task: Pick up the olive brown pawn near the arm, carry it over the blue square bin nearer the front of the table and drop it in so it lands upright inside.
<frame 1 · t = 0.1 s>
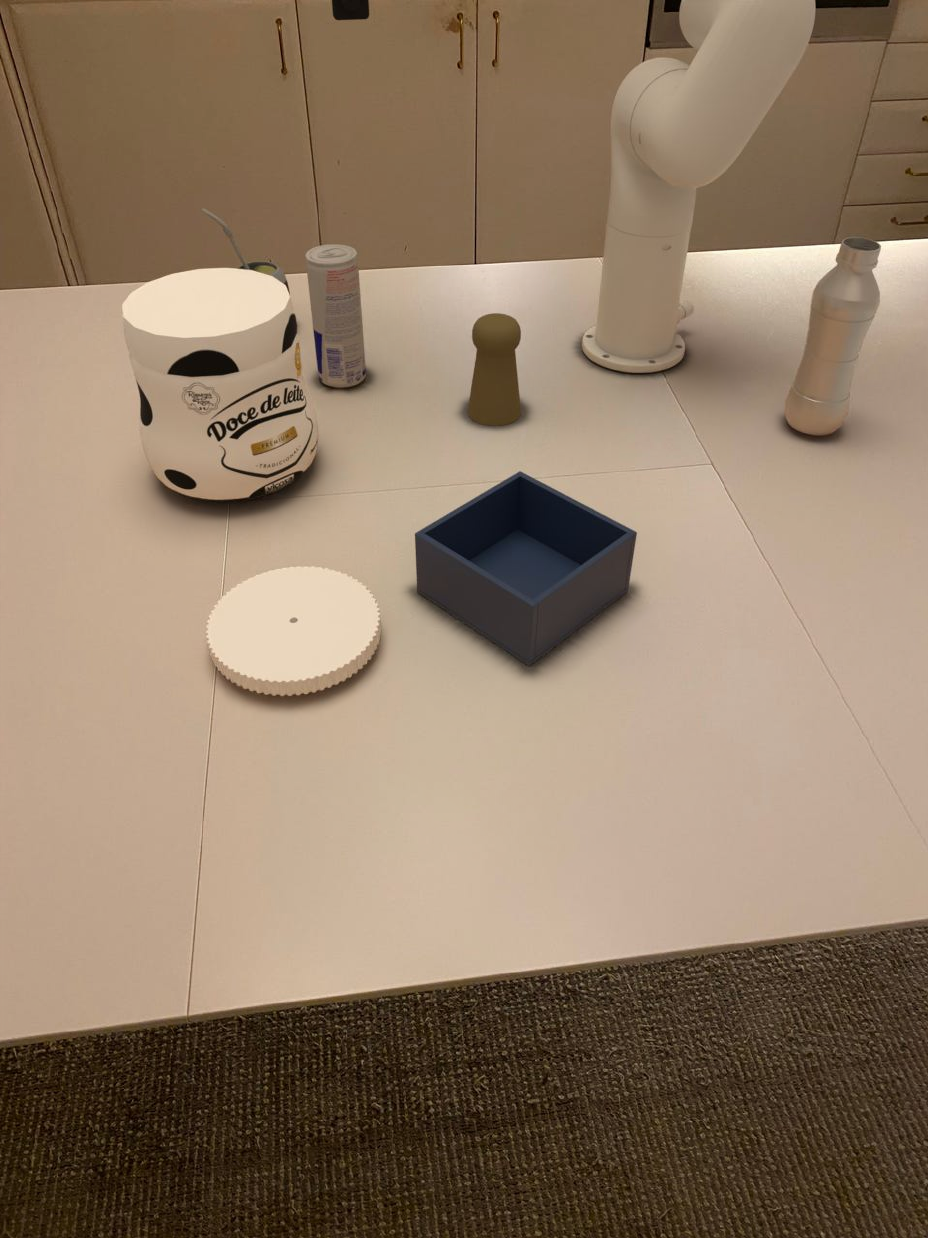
hand: (345, 8, 88), 37 cm above the table, tool pointing down, fingers open, 9 cm apart
mate gourd: (262, 332, 122), on the table
milk container: (238, 470, 98), on the table
blue square bin: (522, 591, 84), on the table
plastic bottle: (809, 428, 105), on the table
beverage can: (342, 380, 113), on the table
olive brown pawn: (494, 413, 107), on the table
plastic lid: (297, 644, 79), on the table
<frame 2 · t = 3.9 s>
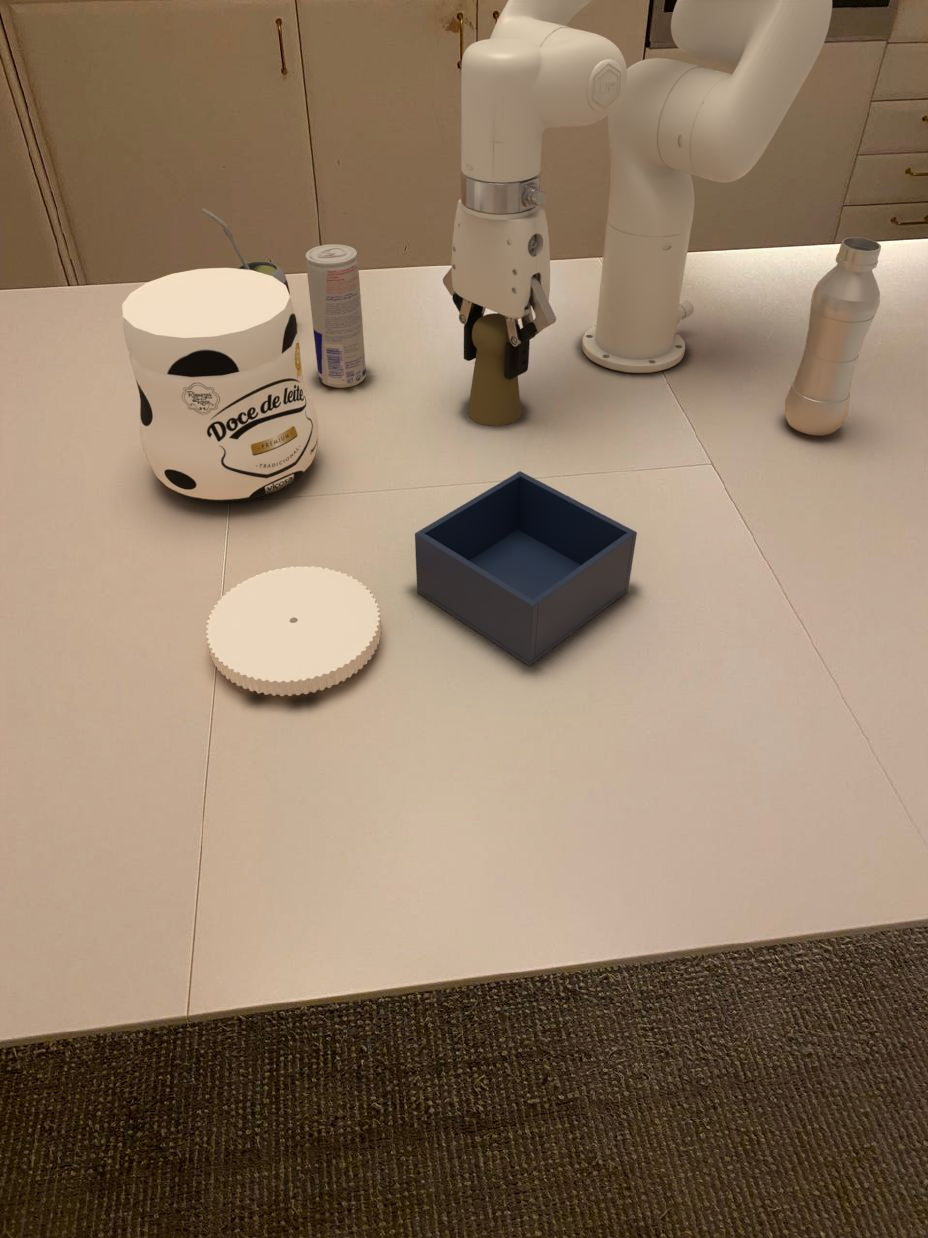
hand: (495, 363, 103), 6 cm above the table, tool pointing down, fingers closed on olive brown pawn, 5 cm apart
olive brown pawn: (494, 413, 107), on the table, touching gripper
everything else where it was.
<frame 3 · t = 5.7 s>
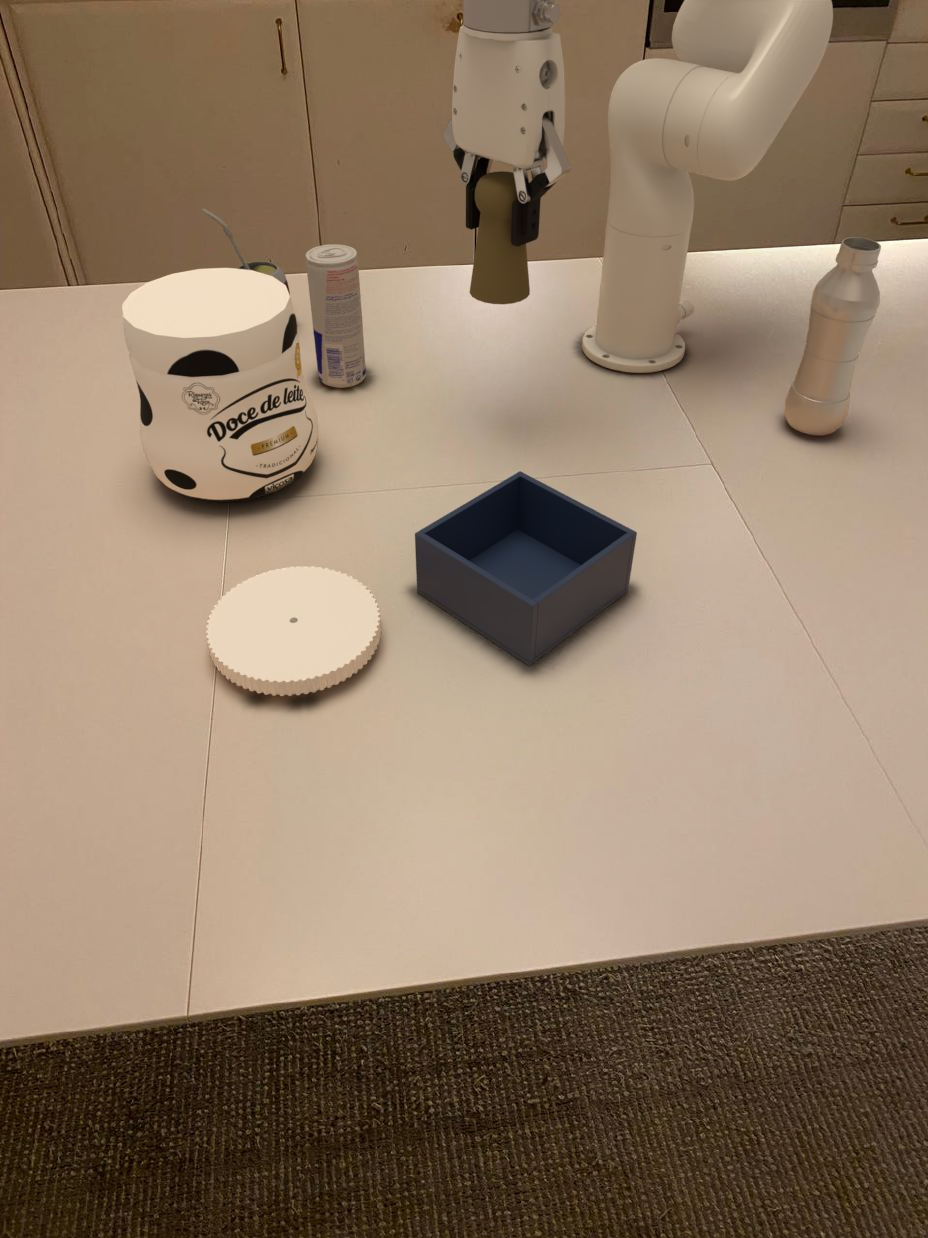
hand: (501, 231, 91), 21 cm above the table, tool pointing down, fingers closed on olive brown pawn, 5 cm apart
olive brown pawn: (499, 293, 95), point 15 cm above the table, touching gripper
everything else where it was.
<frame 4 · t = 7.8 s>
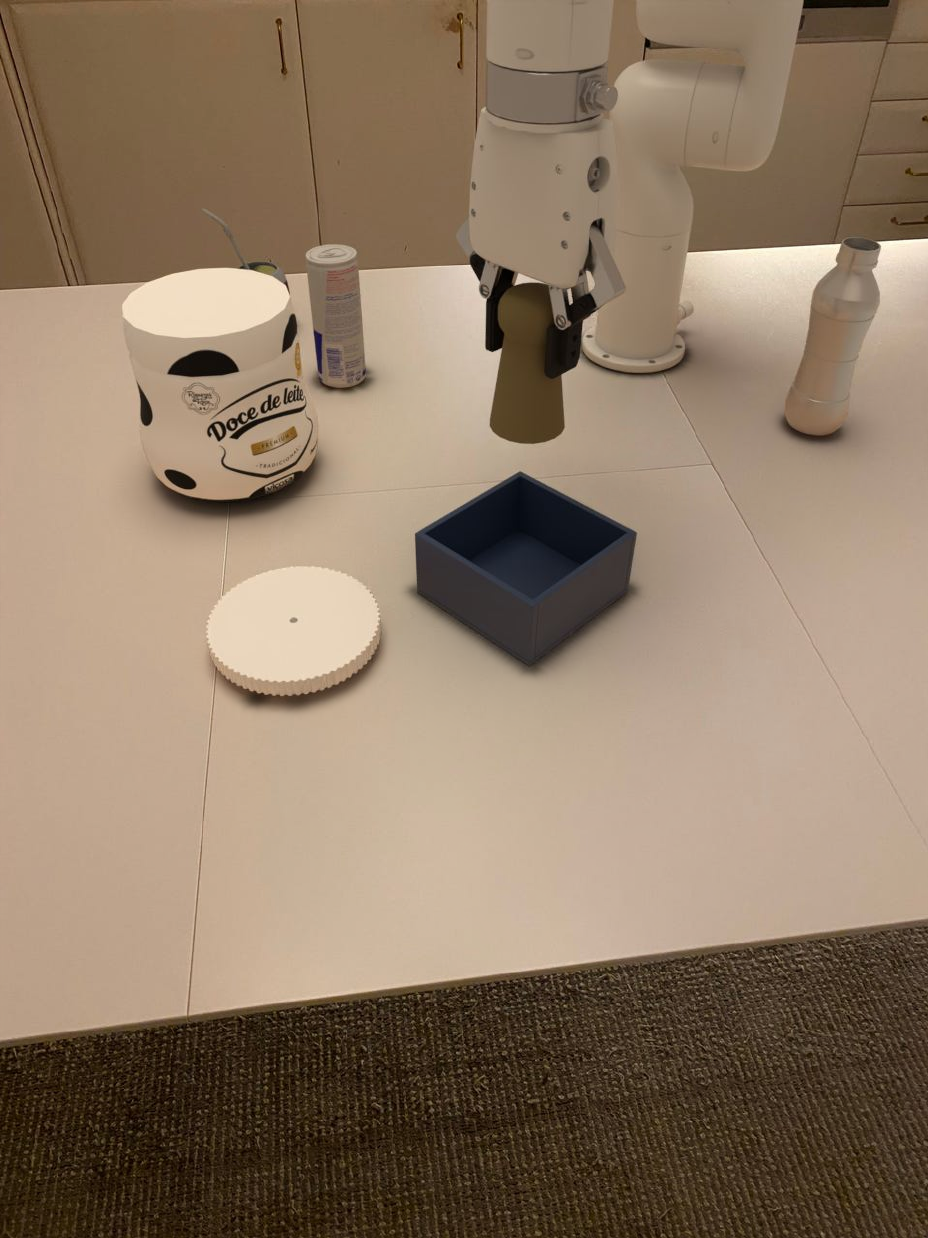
hand: (531, 356, 72), 21 cm above the table, tool pointing down, fingers closed on olive brown pawn, 5 cm apart
olive brown pawn: (526, 425, 76), point 15 cm above the table, touching gripper
everything else where it was.
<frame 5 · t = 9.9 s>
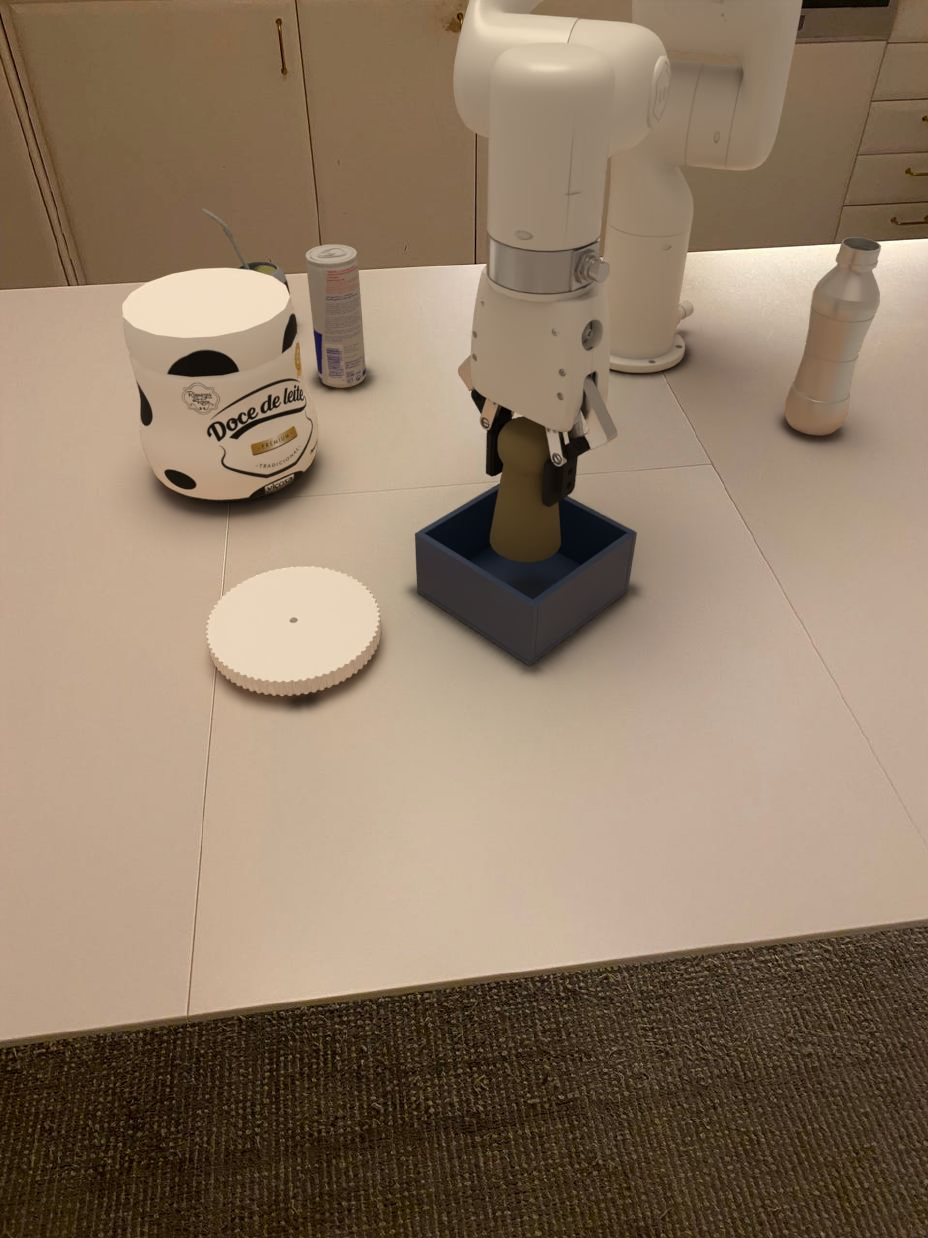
hand: (529, 481, 76), 12 cm above the table, tool pointing down, fingers closed on olive brown pawn, 5 cm apart
olive brown pawn: (525, 541, 80), point 6 cm above the table, touching gripper
everything else where it was.
when the fingers open (6 cm above the table, at t = 11.7 s): olive brown pawn stays where it is, resting on blue square bin.
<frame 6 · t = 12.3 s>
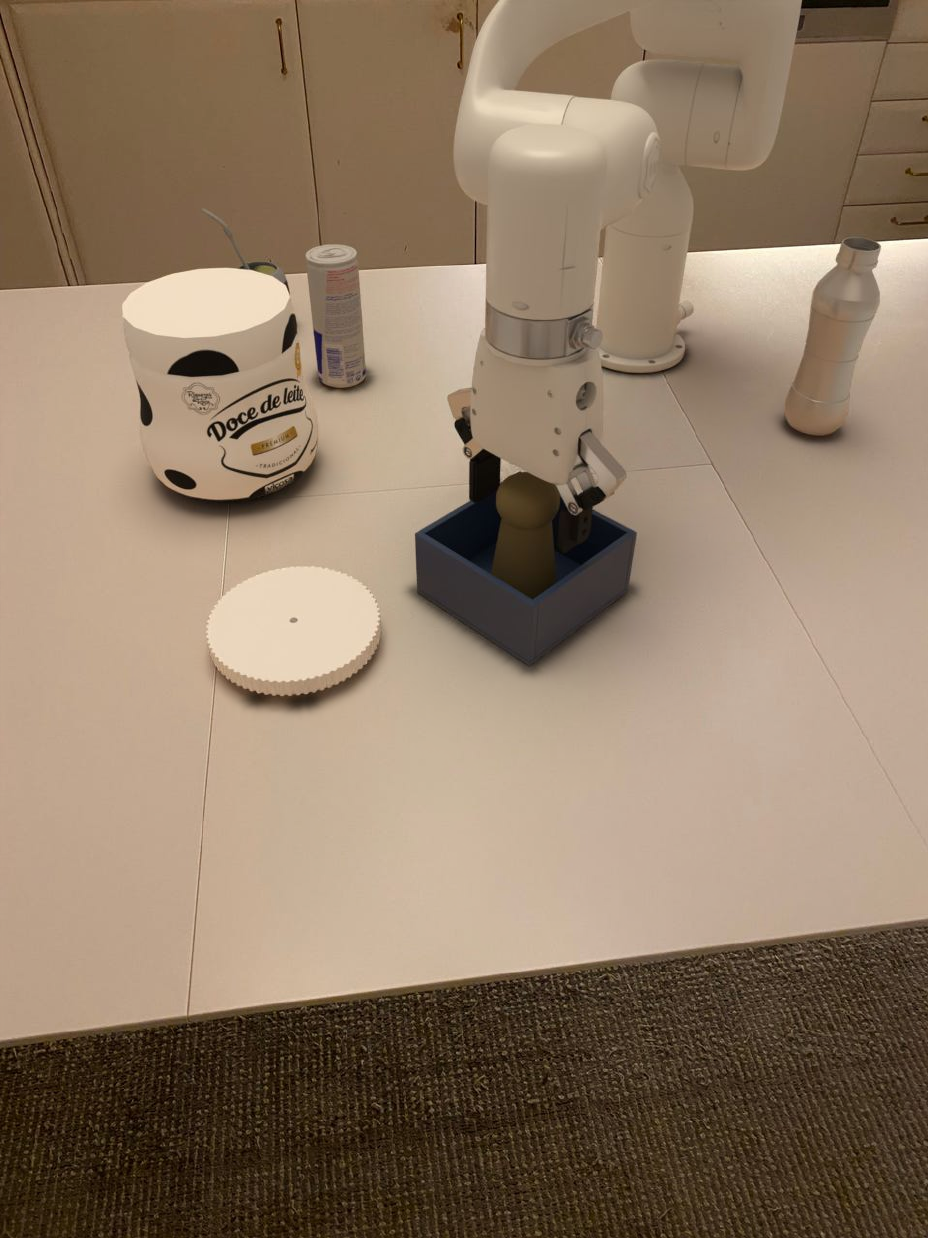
hand: (527, 519, 79), 8 cm above the table, tool pointing down, fingers open, 9 cm apart
olive brown pawn: (522, 588, 84), resting on blue square bin
everything else where it was.
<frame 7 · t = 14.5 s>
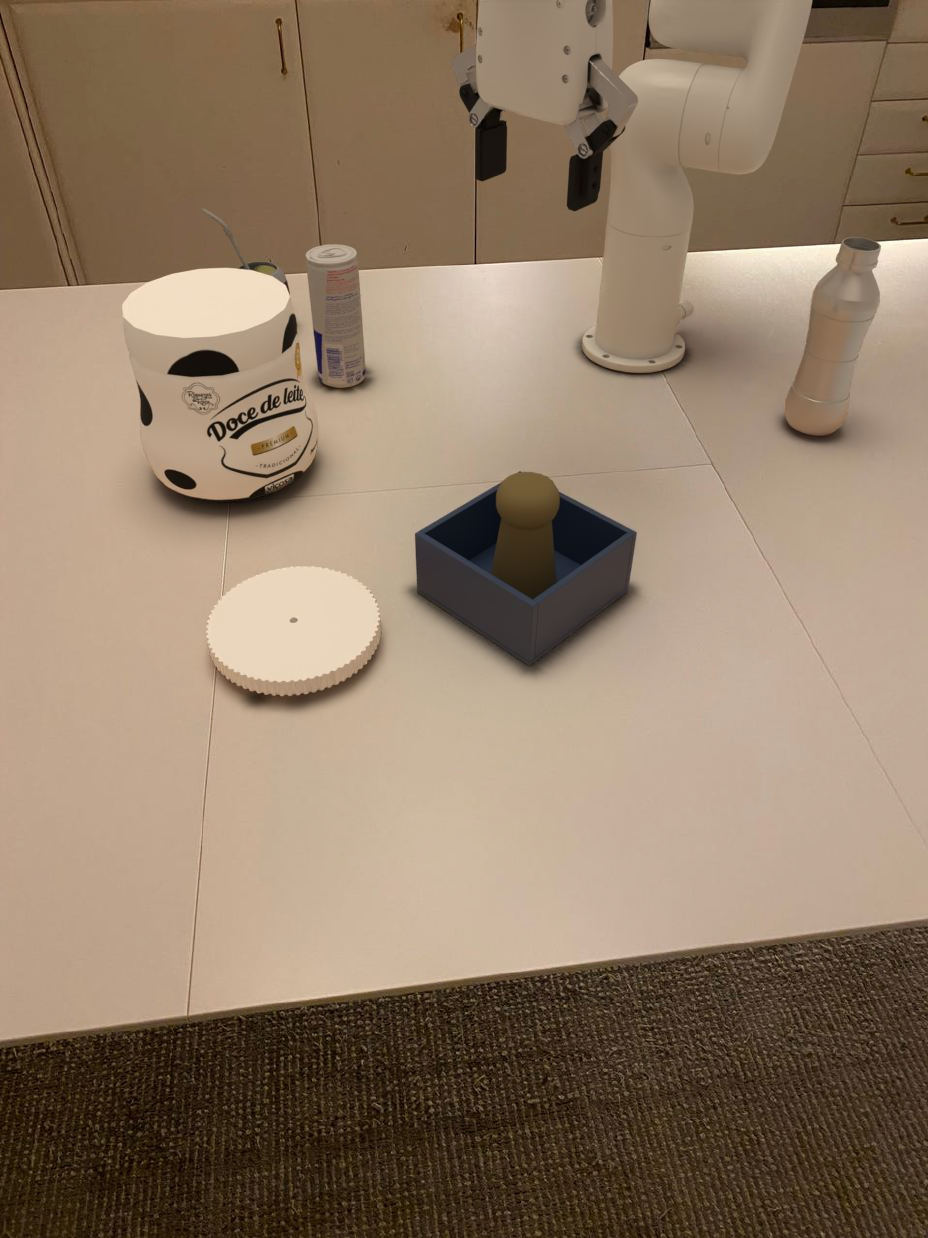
hand: (535, 190, 77), 28 cm above the table, tool pointing down, fingers open, 9 cm apart
nothing on the table moved.
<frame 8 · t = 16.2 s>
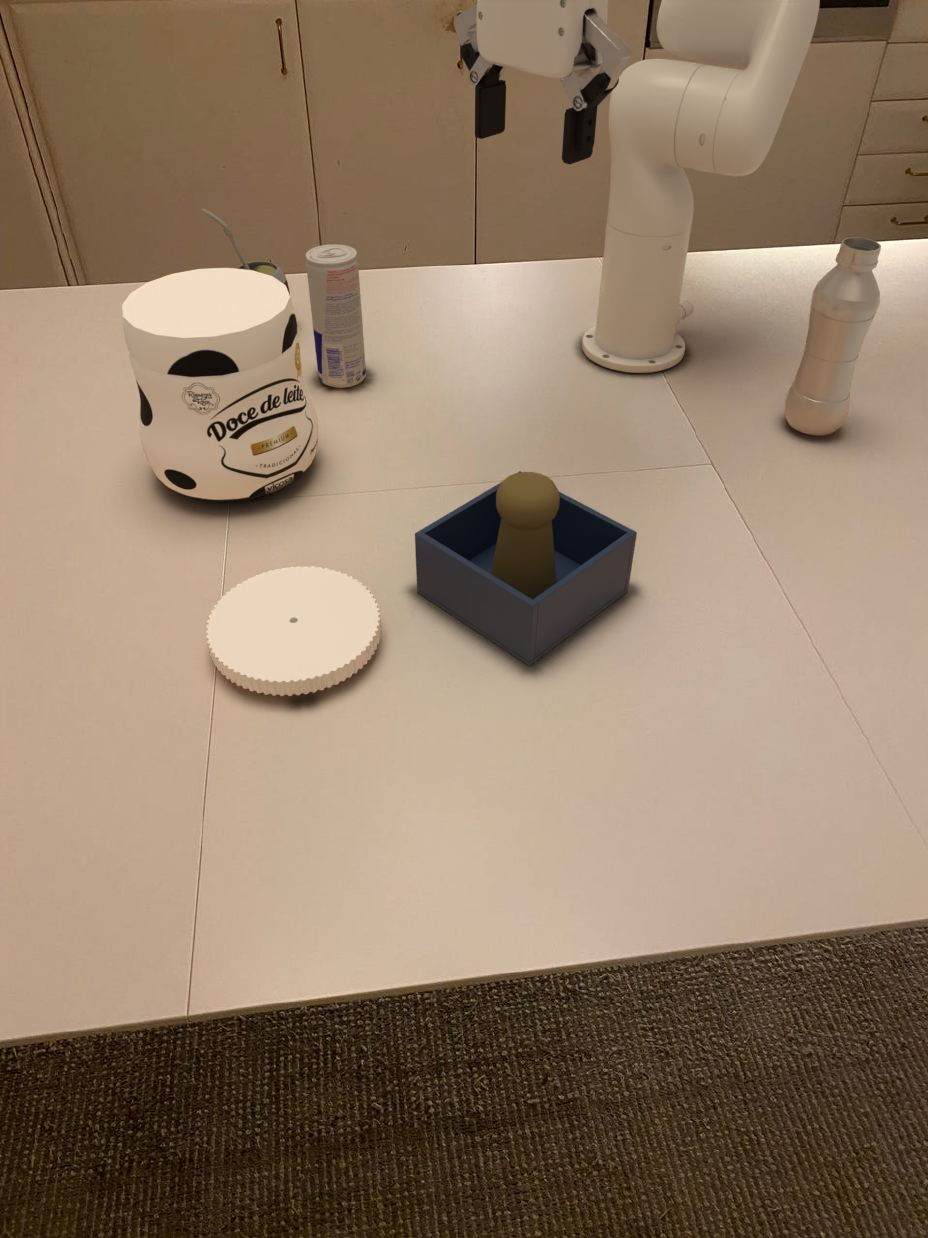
hand: (532, 147, 80), 30 cm above the table, tool pointing down, fingers open, 9 cm apart
nothing on the table moved.
at the end: olive brown pawn inside the target area in the blue square bin (0.0 cm from its centre), point 0.3 cm above the blue square bin's base; olive brown pawn tilted 0°; the gripper is holding nothing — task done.
